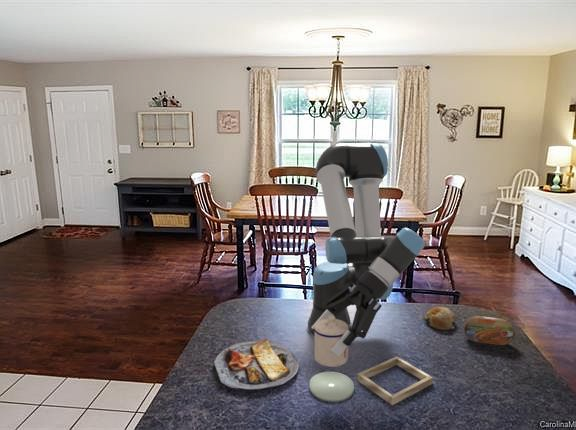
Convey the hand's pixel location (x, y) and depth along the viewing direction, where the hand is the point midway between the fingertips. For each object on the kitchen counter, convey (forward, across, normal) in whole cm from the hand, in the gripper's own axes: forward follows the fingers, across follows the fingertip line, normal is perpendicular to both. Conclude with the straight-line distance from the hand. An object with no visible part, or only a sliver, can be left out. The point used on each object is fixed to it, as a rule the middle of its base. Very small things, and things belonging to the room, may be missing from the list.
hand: (324, 341), depth 113 cm
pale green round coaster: (+8, +1, -12) cm, 15 cm away
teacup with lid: (+2, 0, -4) cm, 5 cm away
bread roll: (-28, +22, -49) cm, 61 cm away
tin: (-33, +6, -54) cm, 63 cm away
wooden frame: (-4, -3, -25) cm, 25 cm away
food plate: (+21, +17, -1) cm, 27 cm away
